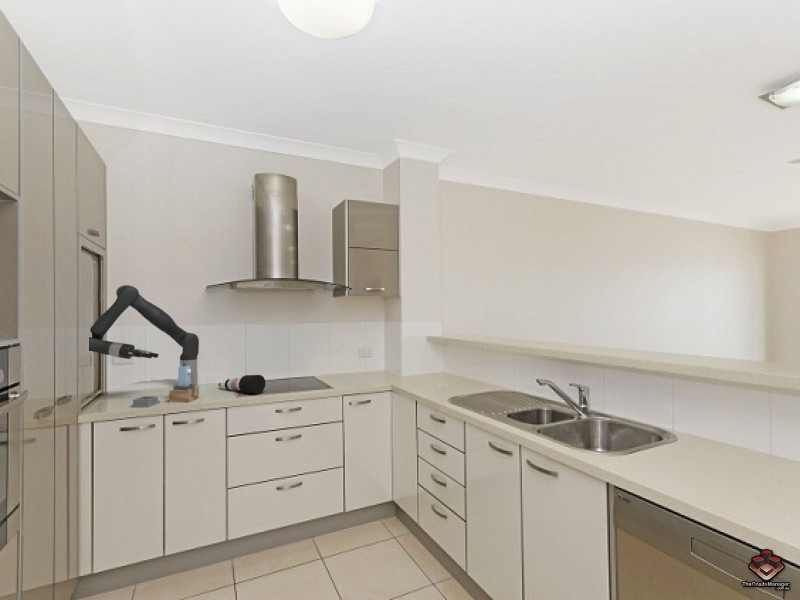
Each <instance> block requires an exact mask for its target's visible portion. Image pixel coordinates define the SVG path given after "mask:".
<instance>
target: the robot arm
mask: <svg viewBox="0 0 800 600" xmlns="http://www.w3.org/2000/svg"><path fill="white" fill-rule="evenodd" d="M115 294H116V299H115V301H114V302H113V304H111V306H110V307H109V308H108V309H106V311H104V313H102V314H101V315H100V317H98V318H97V320H95V322H94V323H93V324H92V326H91V327H90V329H89V331H90V333H92V338H91V337H89V351H92V352H93V353H97V354H102V355H106V356H112V357H114V358H120V359H126V360H130V359H132V358H133V357H134V358H145V359H153V358H156V359H157V358H159V353H156V352H152V351H147V350H146V349H145V350H144V349H140V348H136V347H135V345H134V344H129V343H125V342H115V341H109V340H103V339H104V337H105V335H106V333H108V331H109V330H110V329H111V328H112V327H113V325H114V324H115V322H116V321H117V320H118V319H119V317H120V316H121V315H122V314H123V313H124V312H125V311H126V310H127V309H128V308H129V307H131V308H132V309H135V311H136V312H138V313H139V314H140V315H141V316H142V317H143V318H144V319H145V320H147V322H149V323H150V324H151V325H153V326H154V327H155V328H157V329H158V330H160V331H161V332H163V333H165V334H166V335H167V336H168V337H170V338H171V339H173V341H175V342H176V343H177V344H178V345H179V346H180V347H181V348H182V352H181V354H180V356H179V366H183V360H186V366H190V369H191V372H190V384H195V387H199V386H198V383H199V382H198V381H199V379H198V377H199V376H198V372H199V371H198V356H199V351H200V349H199V347H200V339H199V337H198V335H197V334H195V333H193V332H187V331H186V330H184V329H183V328H181V327H180V326H178V324H177V323H176V322H175V320H174V319H173V318H172V317H171V315H170V314H168V313H167V312H165V311H164V310H163V309H161V308H160V307H158V306H157V305H155V304H154V303H151V302H150V301H148V300H147V299H145V297H143V296H142V295H141V294H140V291H139V290H138V289H137V287H135V286H133V285H127V284H125V285H121V286H119V287H118V288H117V289H116V293H115ZM135 348H136V349H135Z"/></svg>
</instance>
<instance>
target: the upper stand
mask: <svg viewBox="0 0 800 600" xmlns="http://www.w3.org/2000/svg"><path fill="white" fill-rule="evenodd" d="M199 390H200V388H199V386H197V387H195V384H190V385H188V386H178V384H177V385H176V384H175V385H174V386H173V389H170V390H169V391H168V393H169V394H168V397H169V398H168V399H169V400H168V402H185V403H187V404H188V402H189V403H190V402H193V401H196V400H197V399H199V397H200V396H199V395H200V393H199Z"/></svg>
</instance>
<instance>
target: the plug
mask: <svg viewBox="0 0 800 600" xmlns="http://www.w3.org/2000/svg"><path fill="white" fill-rule="evenodd" d="M177 368H178V370H177V371H178V376H177V378H178V380H177V382H178V384H177V385H178V386H188V385H190V372H191V369H190V366H186V360H183V366H180V365H179V366H178V367H177Z"/></svg>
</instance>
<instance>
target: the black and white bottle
mask: <svg viewBox="0 0 800 600" xmlns="http://www.w3.org/2000/svg"><path fill="white" fill-rule="evenodd" d="M266 384H267V383H266V379H265V377H264V375H261V374H249V375H248V374H246V375H243V376H242V377H236V378H228V379H223V380H222V381H221V382H218V384H217V386H218V387H220V388H221V389H222V390H224V391H226V390H228V391H240V392H241V393H243V394H260V393H262V392H263V391H264V390H265V388H266Z"/></svg>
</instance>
